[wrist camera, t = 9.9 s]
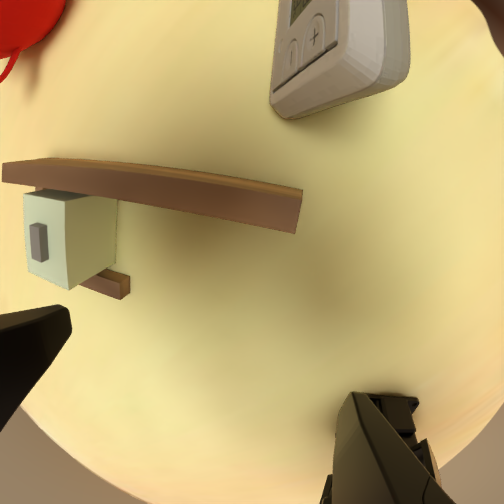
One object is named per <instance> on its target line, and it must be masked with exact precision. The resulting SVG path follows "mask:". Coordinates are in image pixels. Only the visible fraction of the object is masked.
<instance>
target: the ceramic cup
mask: <svg viewBox="0 0 504 504" xmlns="http://www.w3.org/2000/svg"><path fill="white" fill-rule="evenodd" d="M65 4H66V0H0V59H3V58H7V57H10V56H11V57H10V60H9V62H8V64H7V66H6V68H5V70H4V71H3V73H2V74H1V75H0V83H1V82H2V81H3V80H4V79H5V78H6V77H7V76H8V74H9V73H10V71H11V70H12V68H13V66H14V64H15V62H16V60H17V58H18V56H19V53H20V52H21V51H23V50H25V49H27V48H28V47H30V46H32V45H33V44H35V43H38V42H39V41H41V40H42V39H43V38H44V37H46V36H47V34H48V33H49V32H50V31H51V30H52V29H53V27H54V26H55V24H56V23H57V21H58V20H59V18H60V16H61V14H62V12H63V10H64V7H65Z"/></svg>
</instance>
